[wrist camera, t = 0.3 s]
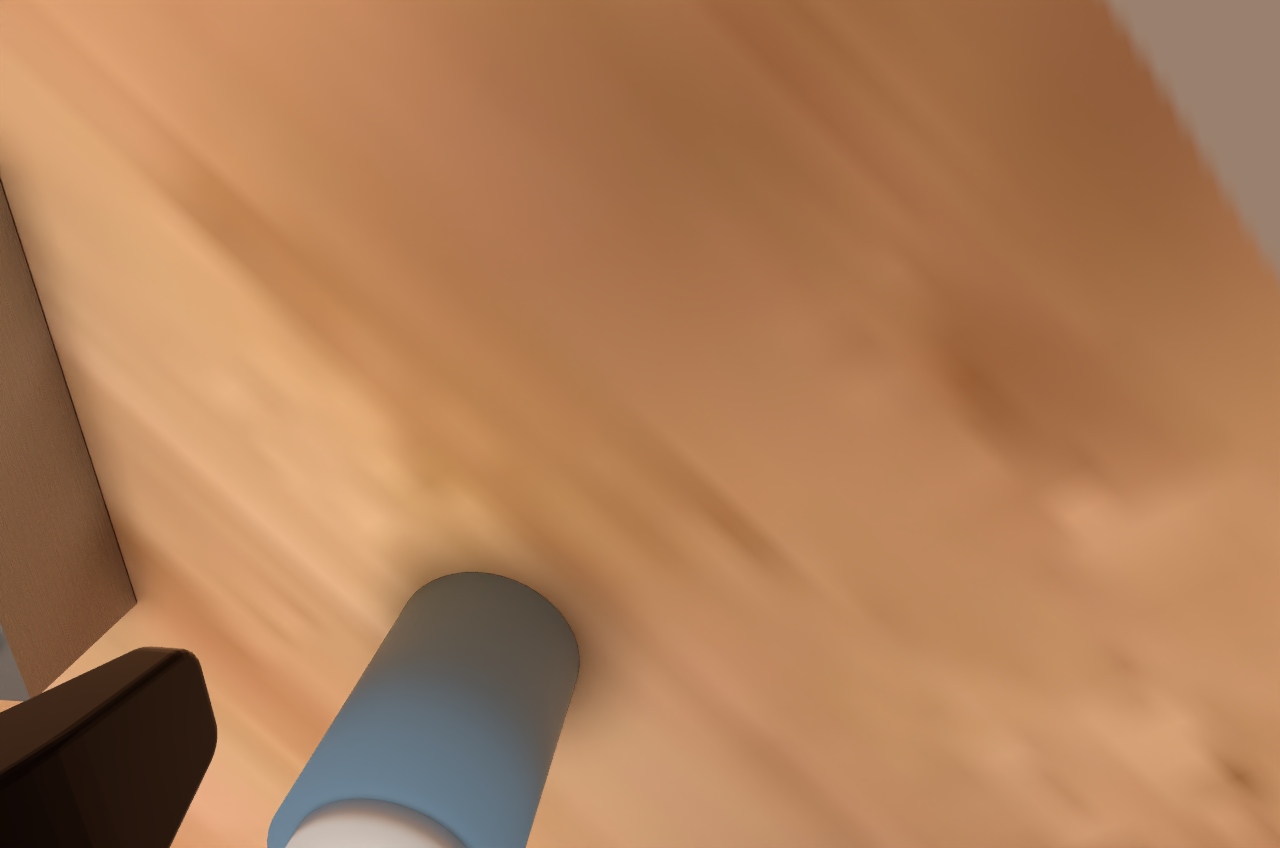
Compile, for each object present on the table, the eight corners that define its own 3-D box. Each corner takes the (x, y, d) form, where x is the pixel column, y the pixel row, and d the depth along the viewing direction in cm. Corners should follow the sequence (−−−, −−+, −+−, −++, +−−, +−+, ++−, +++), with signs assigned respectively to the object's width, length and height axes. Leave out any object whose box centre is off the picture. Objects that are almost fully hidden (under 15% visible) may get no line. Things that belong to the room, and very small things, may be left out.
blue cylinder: (585, 729, 25) (512, 998, 19) (412, 718, 26) (280, 972, 19) (572, 576, 23) (484, 815, 17) (384, 568, 24) (226, 794, 17)
